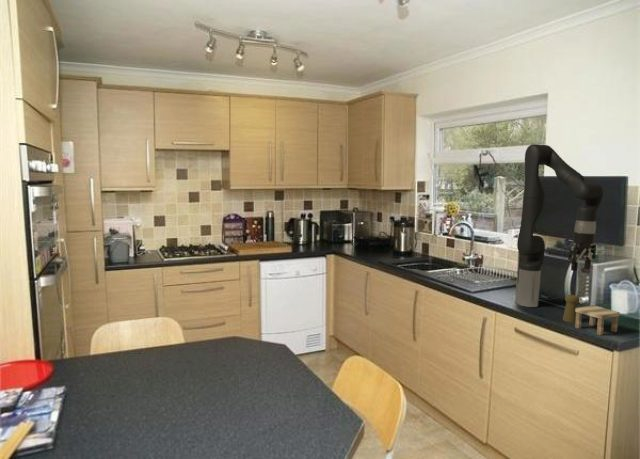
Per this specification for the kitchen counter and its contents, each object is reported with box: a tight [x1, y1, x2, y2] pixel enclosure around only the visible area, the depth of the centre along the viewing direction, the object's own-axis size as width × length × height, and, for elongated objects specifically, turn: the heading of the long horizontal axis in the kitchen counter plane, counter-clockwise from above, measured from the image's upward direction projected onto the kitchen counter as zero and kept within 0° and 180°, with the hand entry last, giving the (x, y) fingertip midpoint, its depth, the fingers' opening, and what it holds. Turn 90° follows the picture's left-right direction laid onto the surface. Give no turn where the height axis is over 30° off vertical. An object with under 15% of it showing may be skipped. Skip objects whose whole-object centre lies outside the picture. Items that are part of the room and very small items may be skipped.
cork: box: [562, 294, 580, 324], centre depth 198 cm, size 6×6×11 cm
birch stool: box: [574, 304, 621, 336], centre depth 186 cm, size 11×11×8 cm
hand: (580, 270), depth 194 cm, fingers open, 8 cm apart
